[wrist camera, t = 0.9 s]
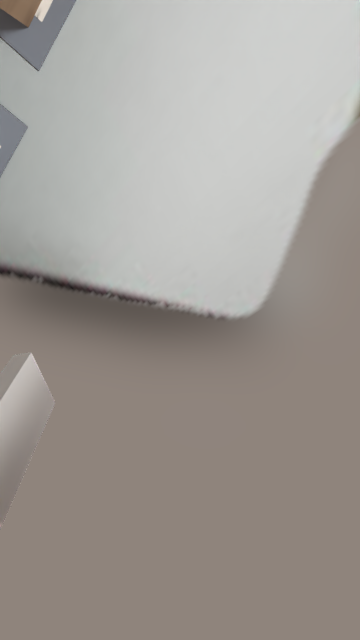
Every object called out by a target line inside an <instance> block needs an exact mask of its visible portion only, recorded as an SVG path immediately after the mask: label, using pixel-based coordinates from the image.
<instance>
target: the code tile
mask: <svg viewBox="0 0 360 640" xmlns="http://www.w3.org/2000/svg"><path fill="white" fill-rule="evenodd" d="M27 128H28V127H27V126H26V125H25V124H24V123H23V122H21V121H20V120H19V119H18V118H16V117H15V116H14V115H13V114H12V113H10V112H9V111H8V110H7V109H6V108H4V107H3V106H2V105H1V104H0V177H1V175H2V173H3V171H4V169H5V167H6V166H7V164H8V162H9V160H10V158H11V157H12V155H13V153H14V151H15V149H16V148H17V146H18V144H19V142H20V140H21V138H22V137H23V135H24V133H25V131H26V129H27Z"/></svg>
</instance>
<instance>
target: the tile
mask: <svg viewBox="0 0 360 640" xmlns="http://www.w3.org/2000/svg"><path fill="white" fill-rule="evenodd" d="M75 1H76V0H42V1H41V3H40V5H39V7H38V9H37V11H36V13H35V15H34V17H33V20H32V22H31V24H30V26H29V28H28V27H27V26H25V25H24V24H22V23H21V22H20V21H18V20H17V19H15V18H14V17H12V16H11V15H9V14H8V13H7V12H5V11H4V10H2V9H1V8H0V37H2V38H3V39H4V40H5V41H6V42H7V43H8V44H9V45H11V46H12V47H13V48H14V49H15V50H16V51H17V52H18V53H19V54H21V55H22V56H23V57H24V58H25V59H26V60H27V61H28V62H30V63H31V64H32V65H33V66H34V67H35V68H36V69H37V70H40V68H41V66H42V64H43V62H44V60H45V58H46V56H47V55H48V53H49V51H50V49H51V47H52V45H53V43H54V41H55V39H56V37H57V36H58V34H59V32H60V30H61V28H62V26H63V24H64V22H65V20H66V19H67V17H68V15H69V13H70V11H71V9H72V7H73V5H74V3H75Z"/></svg>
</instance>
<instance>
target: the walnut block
mask: <svg viewBox="0 0 360 640" xmlns="http://www.w3.org/2000/svg"><path fill="white" fill-rule="evenodd" d="M41 1H42V0H0V8H1V9H2V10H4V11H5V12H7V13H8V14H9V15H11V16H12V17H14V18H15V19H17V20H18V21H20V22H21V23H22V24H24V25H25V26H27V27H28V28H29V26H30V24H31V22H32V20H33V17H34V15H35V13H36V11H37V9H38V7H39V5H40V3H41Z"/></svg>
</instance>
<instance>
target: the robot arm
mask: <svg viewBox="0 0 360 640" xmlns="http://www.w3.org/2000/svg"><path fill="white" fill-rule="evenodd" d="M54 404H55V401H54V399H53V397H52V395H51V393H50V390H49V388H48V386H47V384H46V382H45V380H44V378H43V376H42V374H41V372H40V370H39V368H38V365H37V363H36V361H35V359H34V357H33V355H32V353H24V354H17V355H13V356H12V357H11V359H10V360H9V362H8V363H7V364H6V366H5V367H4V369H3V370H2V372H1V373H0V529H1V526H2V524H3V522H4V520H5V517H6V515H7V513H8V510H9V508H10V505H11V503H12V501H13V499H14V496H15V494H16V492H17V489H18V487H19V485H20V483H21V480H22V478H23V476H24V474H25V471H26V469H27V467H28V464H29V462H30V460H31V457H32V455H33V453H34V450H35V448H36V446H37V444H38V441H39V439H40V436H41V434H42V432H43V430H44V427H45V425H46V423H47V421H48V418H49V416H50V414H51V411H52V409H53V407H54Z"/></svg>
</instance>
